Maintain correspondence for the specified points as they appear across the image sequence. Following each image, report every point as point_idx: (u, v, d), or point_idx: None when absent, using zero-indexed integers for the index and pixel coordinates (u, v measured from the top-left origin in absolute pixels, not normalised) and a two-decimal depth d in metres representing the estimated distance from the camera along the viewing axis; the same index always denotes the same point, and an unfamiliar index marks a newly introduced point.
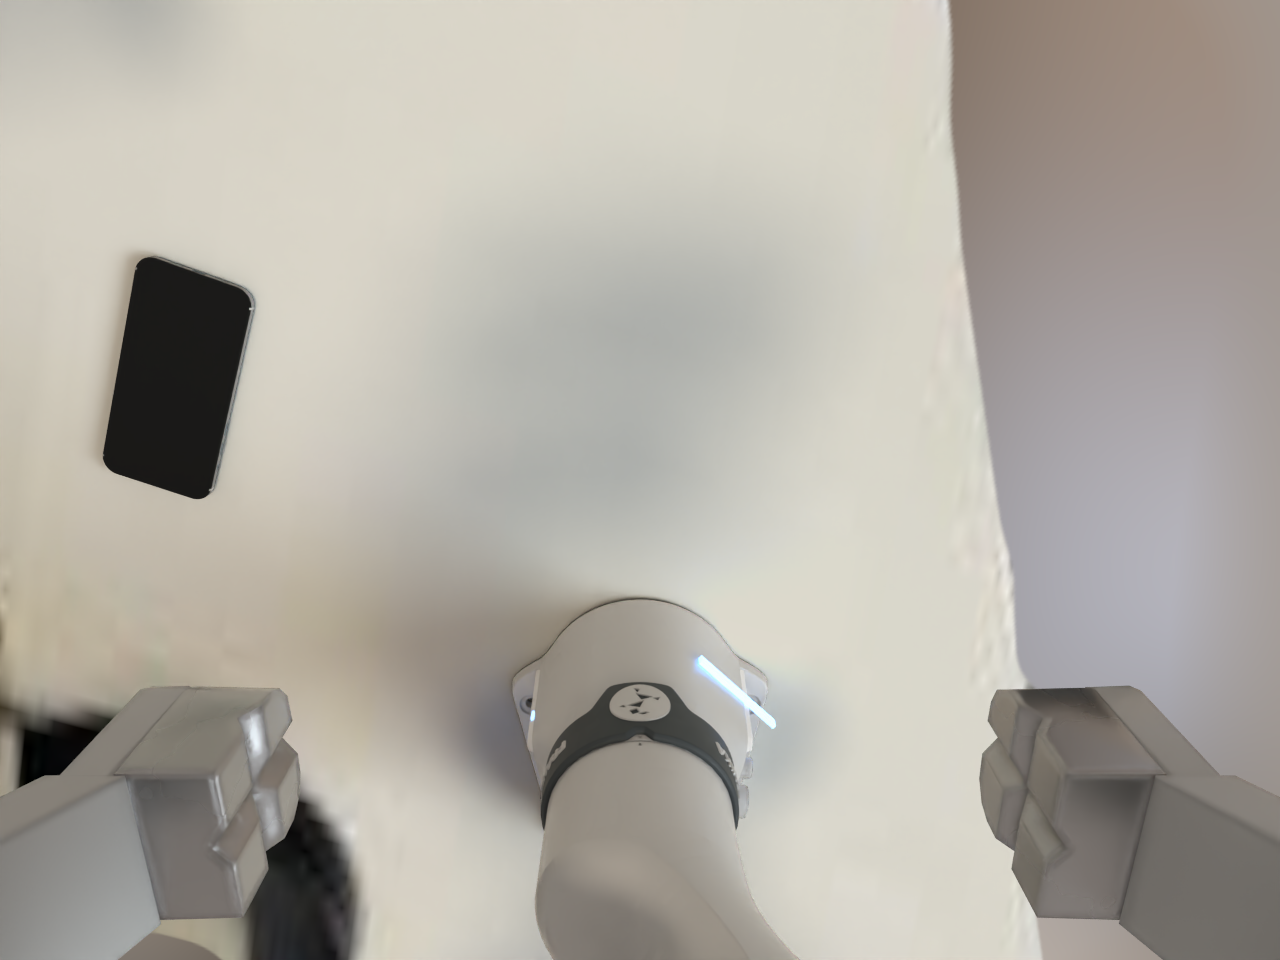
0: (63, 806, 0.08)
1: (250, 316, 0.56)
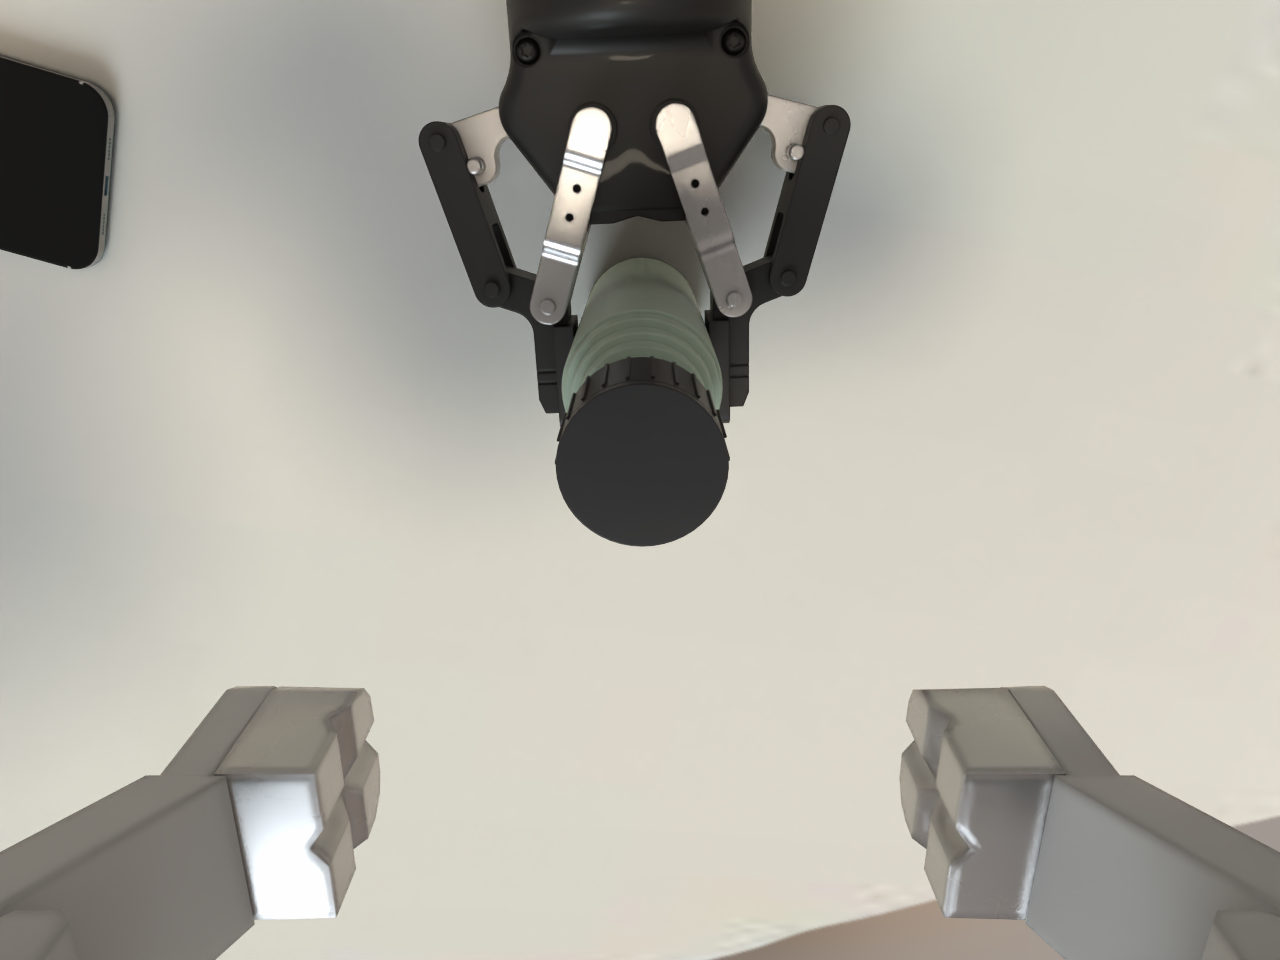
0: (169, 806, 0.08)
1: (59, 264, 0.36)
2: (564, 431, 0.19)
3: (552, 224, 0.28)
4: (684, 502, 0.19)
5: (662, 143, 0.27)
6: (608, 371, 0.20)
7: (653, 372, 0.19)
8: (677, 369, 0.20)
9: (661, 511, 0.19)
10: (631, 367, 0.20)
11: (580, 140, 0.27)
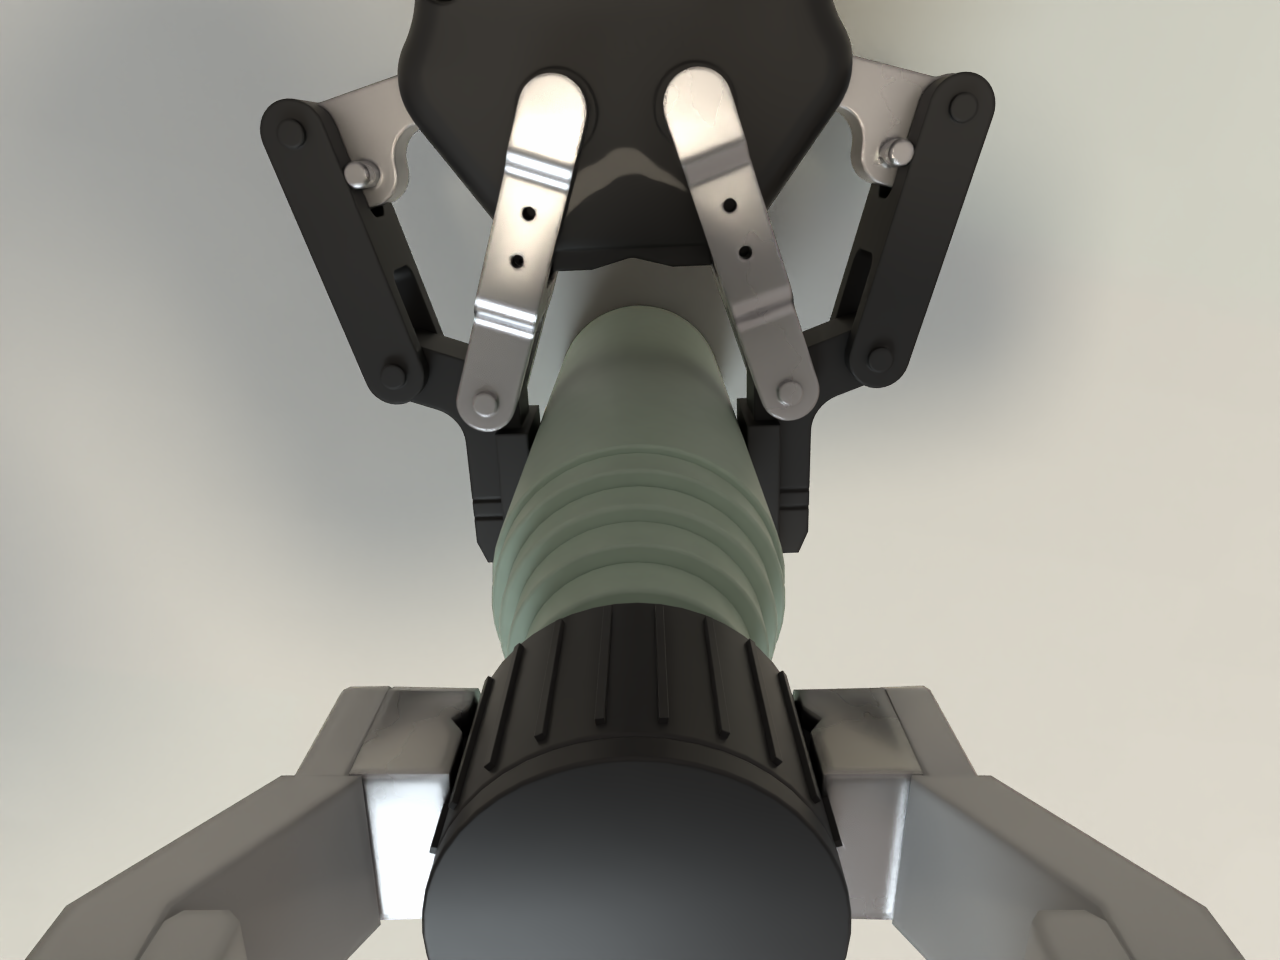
0: (312, 806, 0.08)
1: None
2: (439, 857, 0.07)
3: (489, 273, 0.17)
4: None
5: (674, 137, 0.16)
6: (559, 657, 0.09)
7: (664, 695, 0.08)
8: (717, 643, 0.09)
9: None
10: (612, 655, 0.08)
11: (533, 131, 0.16)
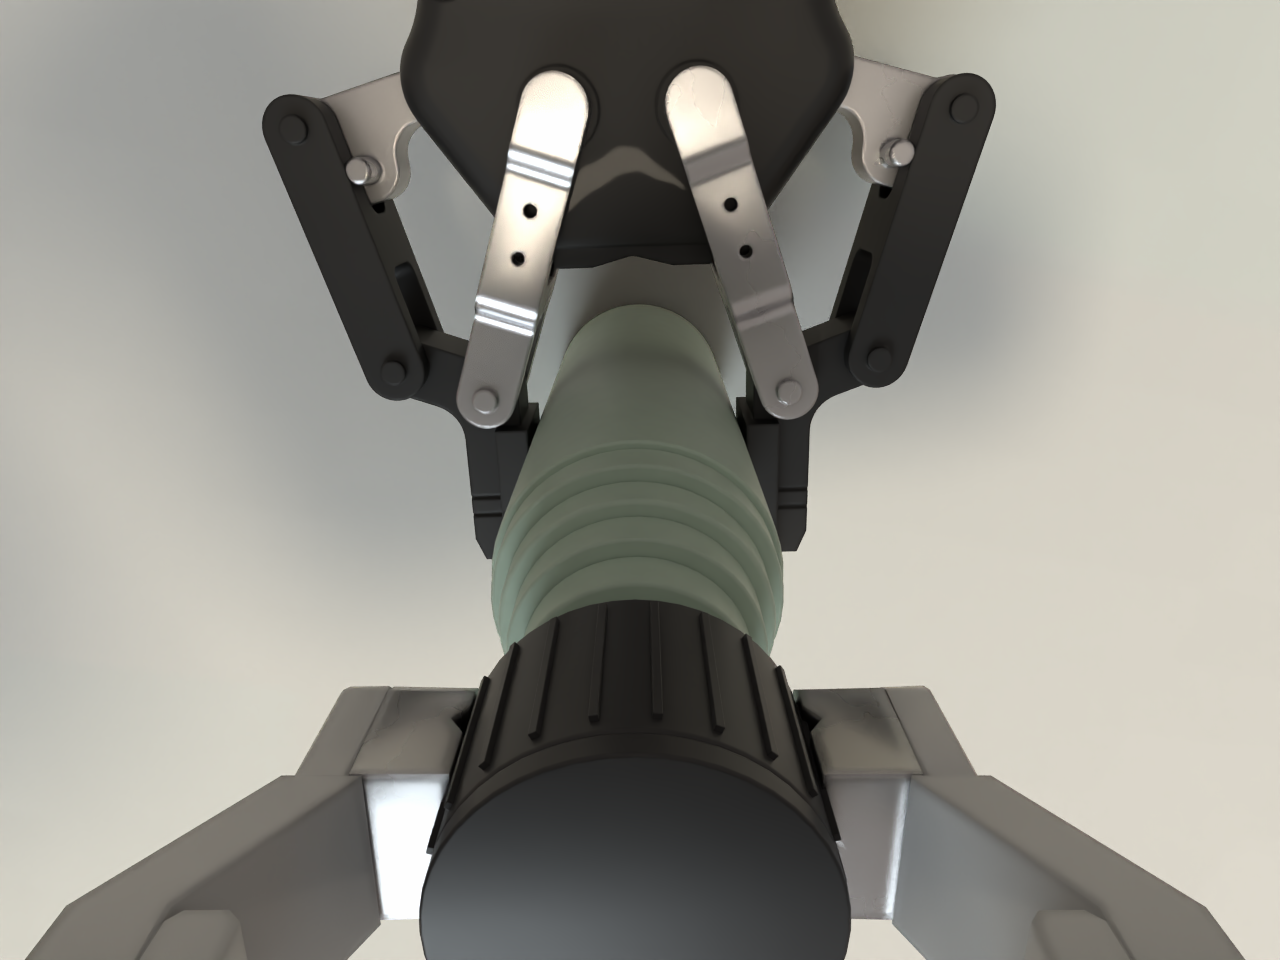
0: (312, 806, 0.08)
1: None
2: None
3: (490, 270, 0.17)
4: (743, 859, 0.07)
5: (676, 136, 0.16)
6: None
7: None
8: (485, 695, 0.09)
9: (758, 907, 0.08)
10: None
11: (535, 128, 0.16)
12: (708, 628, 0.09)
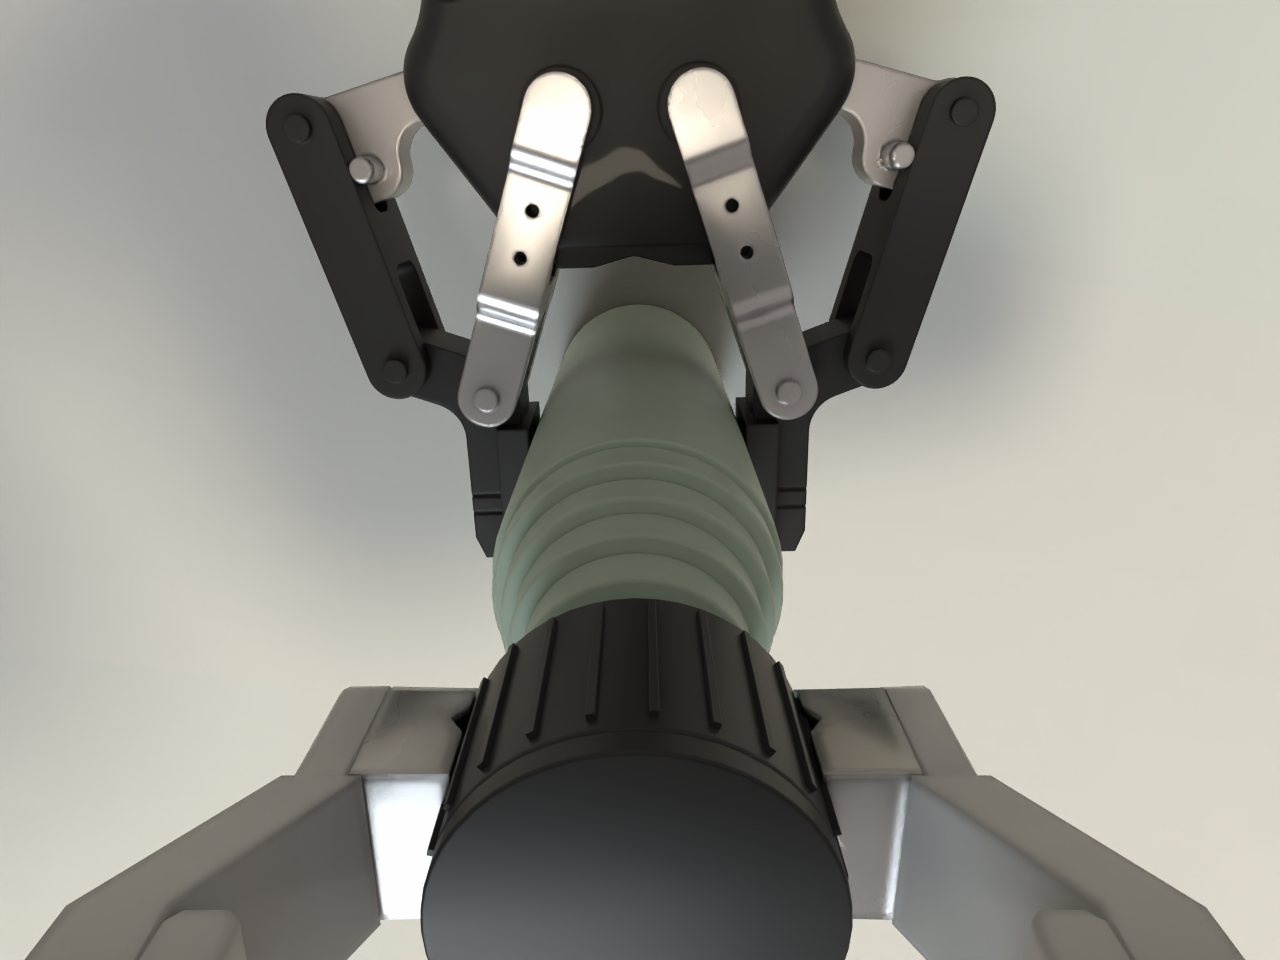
0: (312, 806, 0.08)
1: None
2: None
3: (492, 269, 0.17)
4: (550, 840, 0.07)
5: (678, 137, 0.16)
6: None
7: None
8: None
9: (616, 831, 0.07)
10: None
11: (538, 129, 0.16)
12: (478, 696, 0.09)
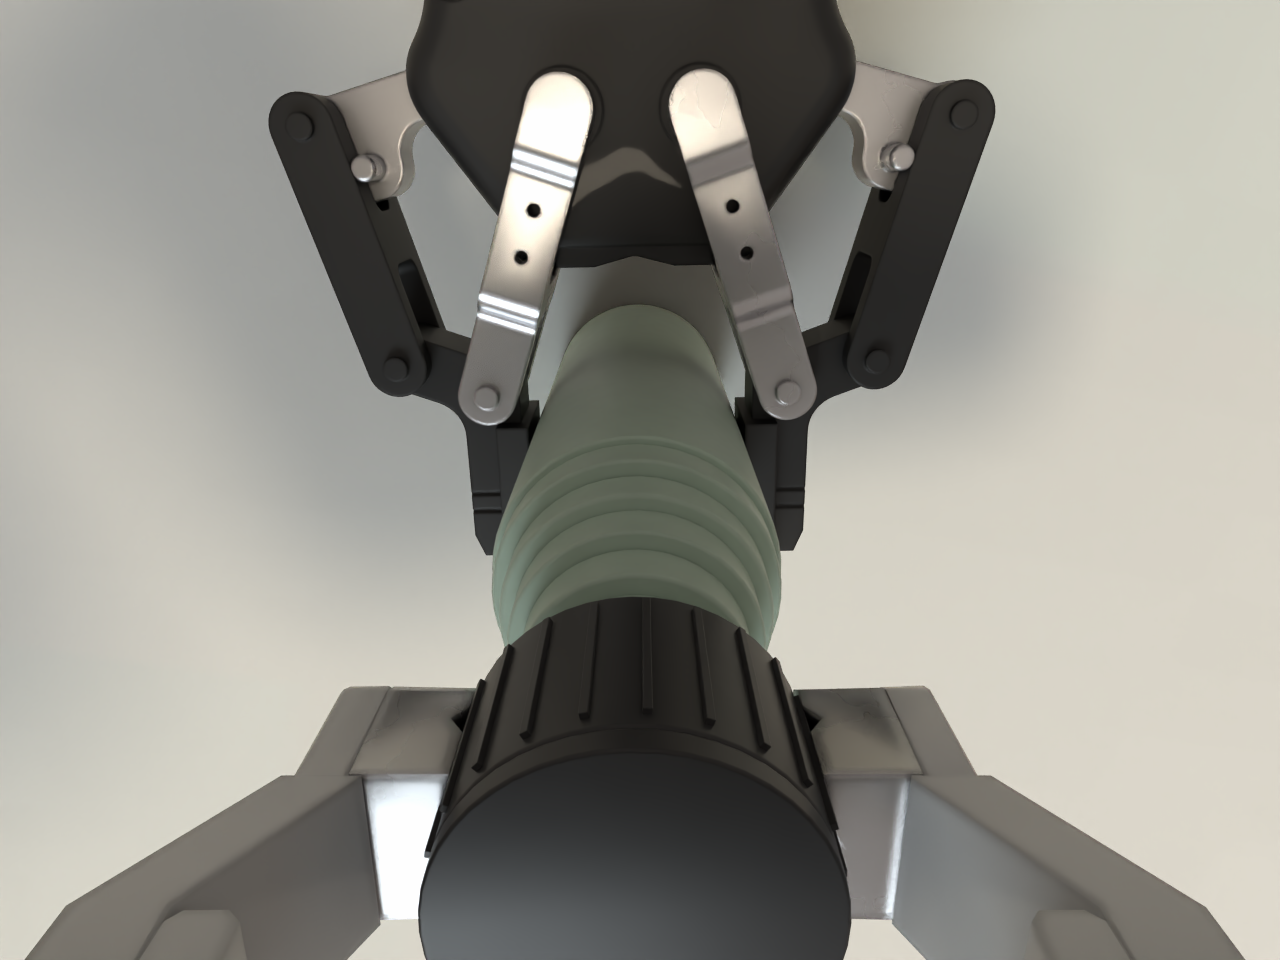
0: (312, 806, 0.08)
1: None
2: (799, 808, 0.07)
3: (493, 268, 0.17)
4: None
5: (679, 138, 0.16)
6: None
7: None
8: None
9: (507, 933, 0.08)
10: None
11: (539, 129, 0.16)
12: None
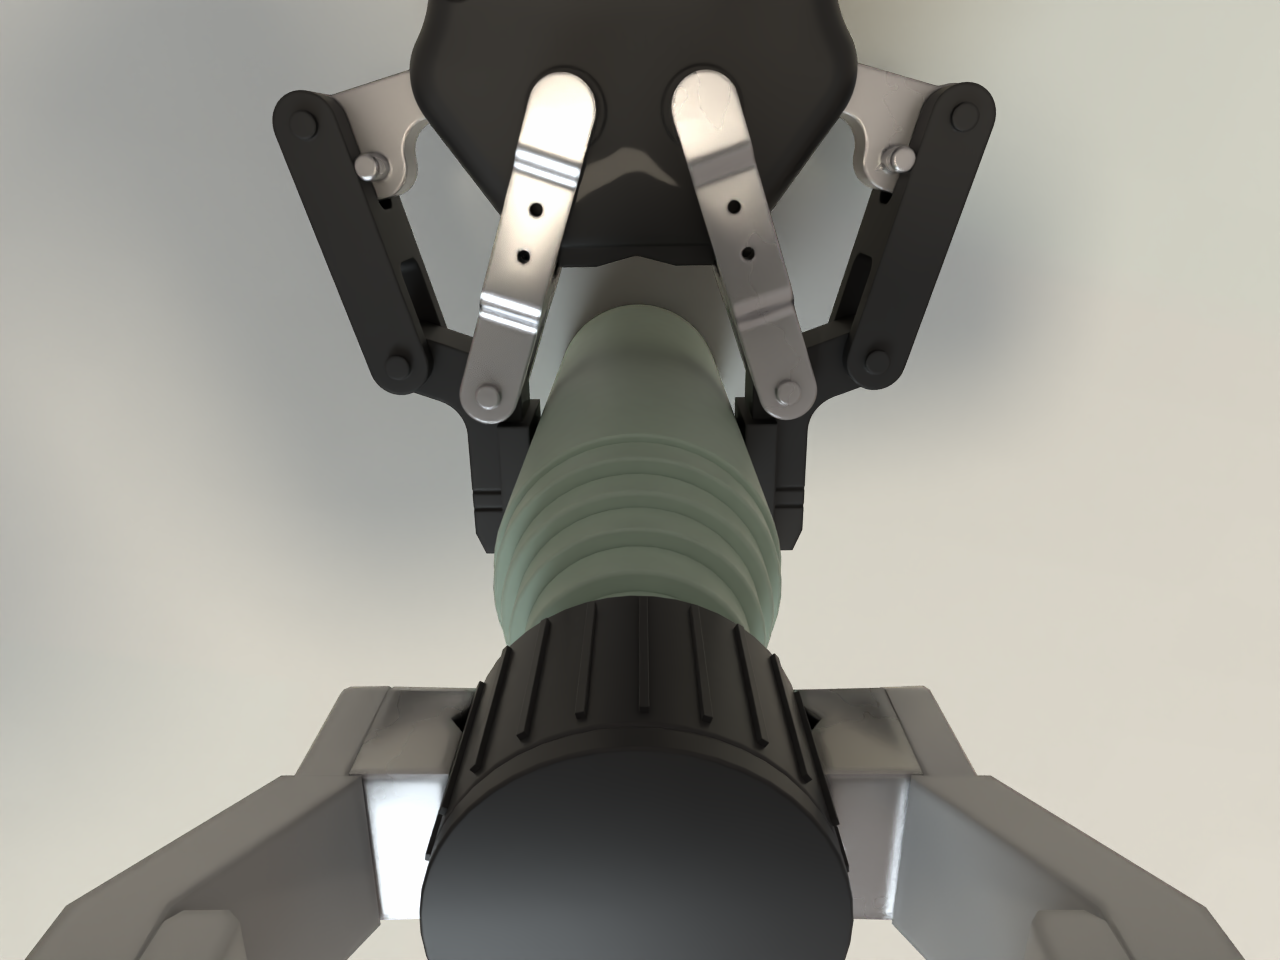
0: (312, 806, 0.08)
1: None
2: (501, 782, 0.07)
3: (495, 267, 0.17)
4: None
5: (681, 138, 0.16)
6: (649, 634, 0.09)
7: (762, 718, 0.08)
8: None
9: None
10: (704, 656, 0.08)
11: (542, 128, 0.16)
12: None
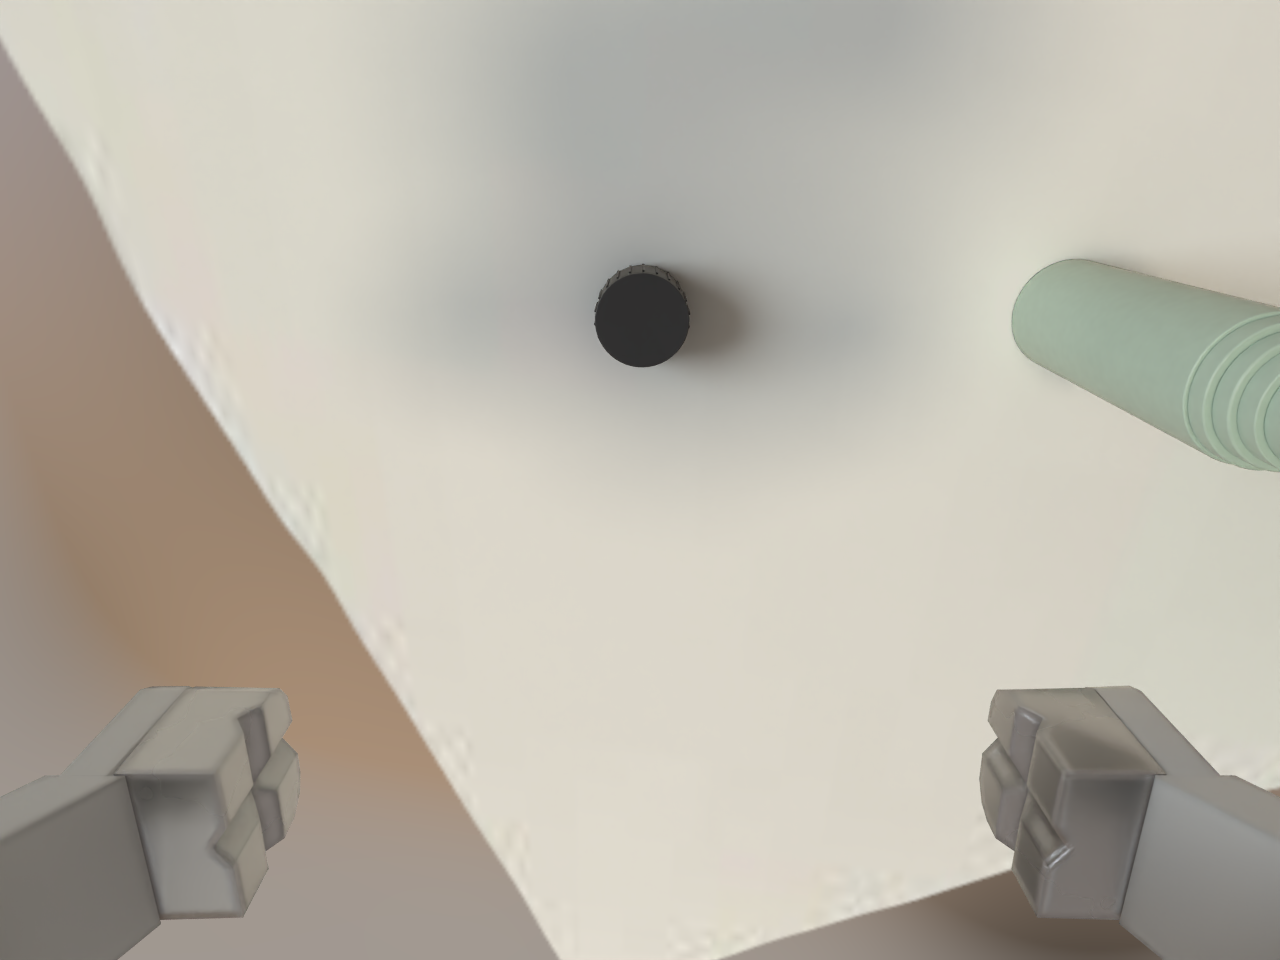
0: (62, 807, 0.08)
1: None
2: (614, 282, 0.35)
3: None
4: (653, 349, 0.35)
5: None
6: (644, 267, 0.36)
7: (669, 277, 0.35)
8: None
9: (639, 348, 0.35)
10: (657, 271, 0.36)
11: None
12: None
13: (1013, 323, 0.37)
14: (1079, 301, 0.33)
